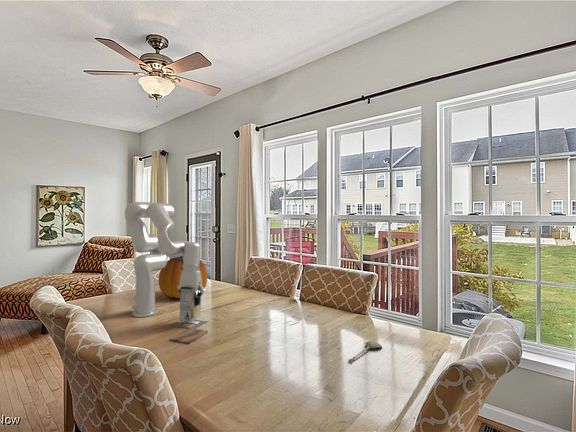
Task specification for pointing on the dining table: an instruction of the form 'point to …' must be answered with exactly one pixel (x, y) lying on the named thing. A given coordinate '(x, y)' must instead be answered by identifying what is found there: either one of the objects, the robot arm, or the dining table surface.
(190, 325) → the color patch mat
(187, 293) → the coffee box
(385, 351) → the dining table surface
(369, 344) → the soupspoon
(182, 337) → the walnut pad
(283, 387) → the dining table surface
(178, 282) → the decorative pumpkin
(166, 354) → the dining table surface
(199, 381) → the dining table surface
